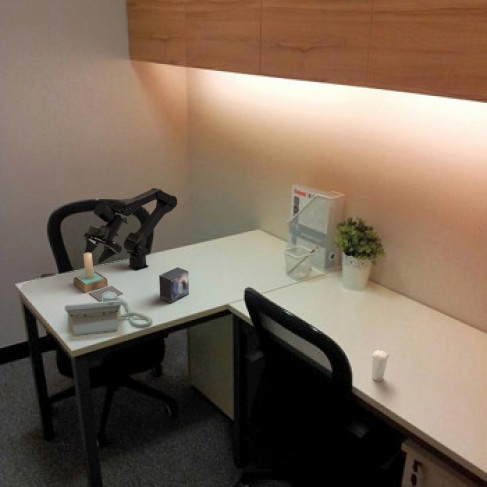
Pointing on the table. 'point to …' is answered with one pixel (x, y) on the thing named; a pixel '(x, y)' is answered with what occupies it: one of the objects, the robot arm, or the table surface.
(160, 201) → the robot arm
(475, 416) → the table surface
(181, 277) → the small box
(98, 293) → the mat
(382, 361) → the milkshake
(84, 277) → the lid
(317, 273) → the table surface
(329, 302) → the table surface
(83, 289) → the walnut box
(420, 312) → the table surface
